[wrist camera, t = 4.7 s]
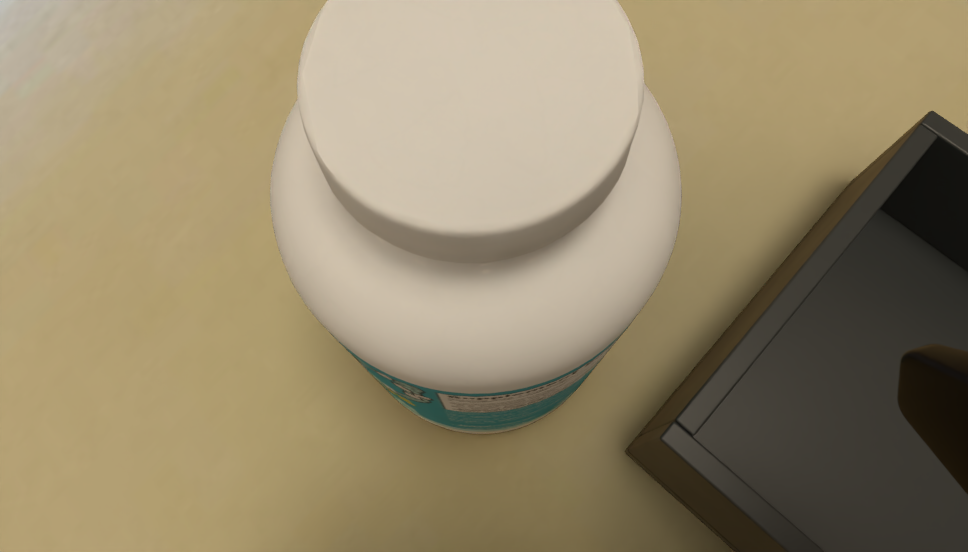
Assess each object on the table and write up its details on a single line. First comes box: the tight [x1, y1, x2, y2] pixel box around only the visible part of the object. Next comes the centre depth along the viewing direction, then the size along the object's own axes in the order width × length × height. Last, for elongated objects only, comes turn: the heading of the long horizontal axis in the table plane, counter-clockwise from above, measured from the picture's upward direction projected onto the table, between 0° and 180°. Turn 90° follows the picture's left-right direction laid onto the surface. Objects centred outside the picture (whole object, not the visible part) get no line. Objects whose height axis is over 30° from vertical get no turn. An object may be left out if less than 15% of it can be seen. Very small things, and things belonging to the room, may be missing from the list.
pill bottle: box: [270, 0, 682, 434], centre depth 15 cm, size 8×7×14 cm
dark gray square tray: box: [625, 111, 968, 552], centre depth 18 cm, size 12×12×4 cm
